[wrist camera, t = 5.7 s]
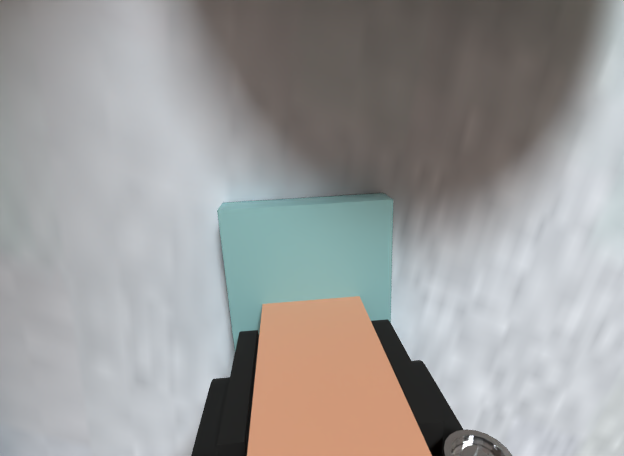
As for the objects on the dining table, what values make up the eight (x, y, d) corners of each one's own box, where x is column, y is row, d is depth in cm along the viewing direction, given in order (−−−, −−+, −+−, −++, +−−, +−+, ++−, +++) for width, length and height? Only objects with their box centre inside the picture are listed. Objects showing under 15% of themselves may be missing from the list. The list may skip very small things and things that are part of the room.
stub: (222, 202, 11) (127, 332, 4) (383, 192, 11) (537, 297, 4) (253, 455, 14) (226, 773, 7) (380, 441, 14) (470, 731, 7)
